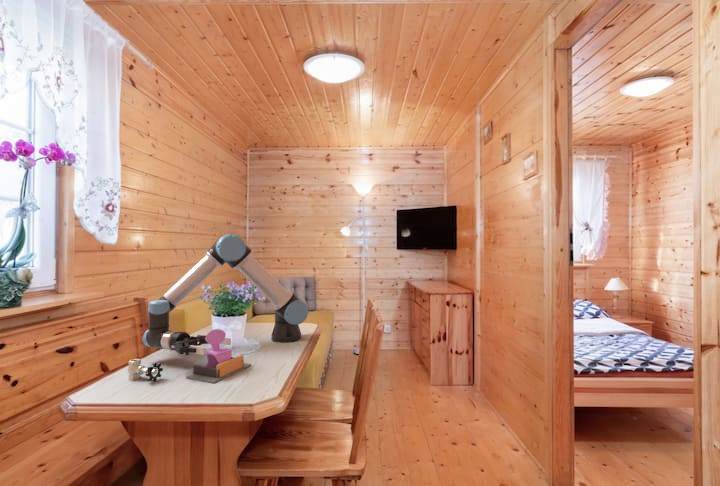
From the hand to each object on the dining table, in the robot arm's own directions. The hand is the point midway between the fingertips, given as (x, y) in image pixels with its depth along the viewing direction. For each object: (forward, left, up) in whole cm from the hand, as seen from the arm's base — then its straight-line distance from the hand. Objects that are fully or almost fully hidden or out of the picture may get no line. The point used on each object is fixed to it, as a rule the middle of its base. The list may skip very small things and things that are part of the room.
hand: (217, 346), depth 139 cm
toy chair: (0, 0, -9) cm, 9 cm away
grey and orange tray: (0, 0, -10) cm, 10 cm away
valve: (+16, -20, -10) cm, 27 cm away
